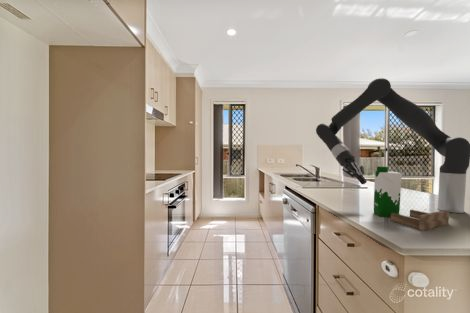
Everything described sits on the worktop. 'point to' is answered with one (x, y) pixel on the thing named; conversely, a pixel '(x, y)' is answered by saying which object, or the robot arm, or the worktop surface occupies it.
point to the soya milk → (387, 192)
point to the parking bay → (422, 219)
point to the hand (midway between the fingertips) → (364, 183)
